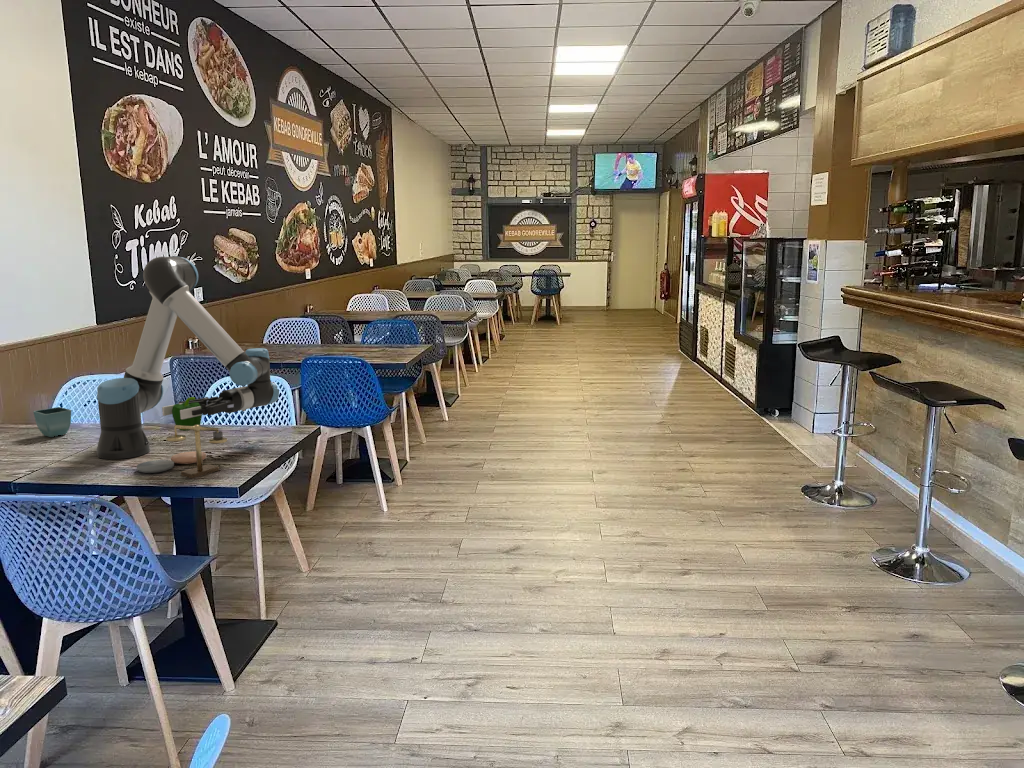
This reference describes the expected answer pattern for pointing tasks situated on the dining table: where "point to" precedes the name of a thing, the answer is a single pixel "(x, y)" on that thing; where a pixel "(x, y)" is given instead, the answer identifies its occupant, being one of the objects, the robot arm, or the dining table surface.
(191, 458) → the terracotta dish
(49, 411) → the flower pot
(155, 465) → the slate dish
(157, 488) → the dining table surface
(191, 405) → the bell pepper
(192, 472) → the brass balance
